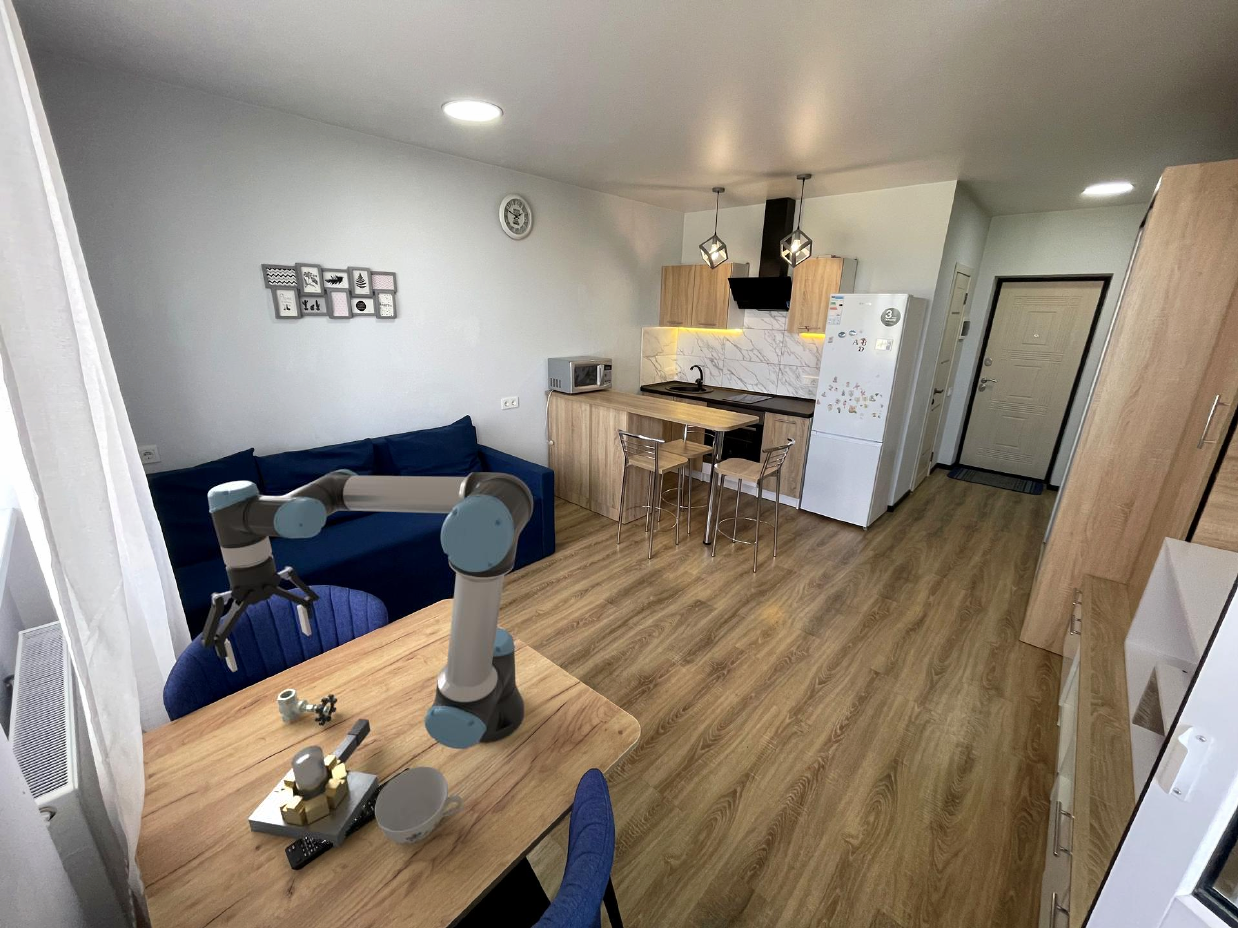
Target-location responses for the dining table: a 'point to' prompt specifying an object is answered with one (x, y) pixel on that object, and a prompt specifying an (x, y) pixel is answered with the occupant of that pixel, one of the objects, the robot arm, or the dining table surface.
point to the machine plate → (322, 824)
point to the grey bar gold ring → (336, 788)
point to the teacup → (413, 804)
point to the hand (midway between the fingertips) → (271, 649)
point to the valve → (304, 707)
